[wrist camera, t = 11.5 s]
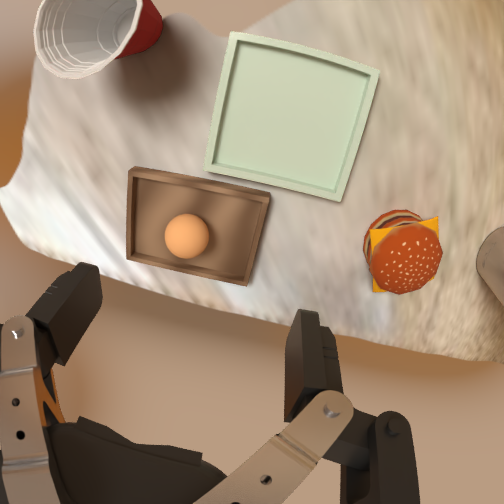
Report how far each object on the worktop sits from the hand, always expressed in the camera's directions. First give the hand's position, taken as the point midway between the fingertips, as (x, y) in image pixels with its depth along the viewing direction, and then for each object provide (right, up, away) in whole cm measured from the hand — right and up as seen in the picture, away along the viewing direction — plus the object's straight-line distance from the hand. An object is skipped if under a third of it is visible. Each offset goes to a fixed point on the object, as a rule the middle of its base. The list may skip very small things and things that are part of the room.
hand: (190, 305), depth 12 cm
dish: (+6, +16, +18) cm, 25 cm away
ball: (-5, +5, +25) cm, 26 cm away
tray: (-5, +5, +25) cm, 26 cm away
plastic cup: (-10, +26, +14) cm, 31 cm away
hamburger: (+21, +4, +25) cm, 32 cm away
